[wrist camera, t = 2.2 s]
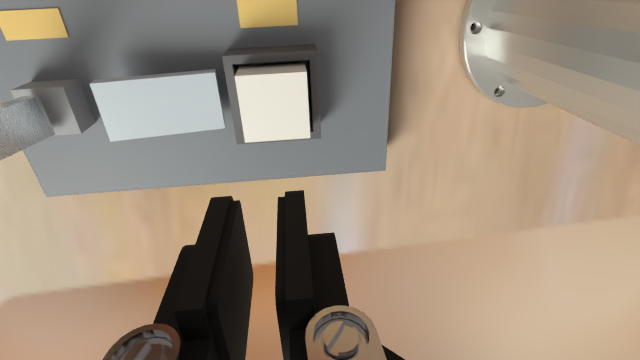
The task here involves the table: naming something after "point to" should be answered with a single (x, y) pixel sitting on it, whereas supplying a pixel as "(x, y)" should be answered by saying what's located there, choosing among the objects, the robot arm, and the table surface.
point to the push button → (273, 102)
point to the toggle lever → (22, 124)
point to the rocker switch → (159, 104)
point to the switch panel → (193, 55)
